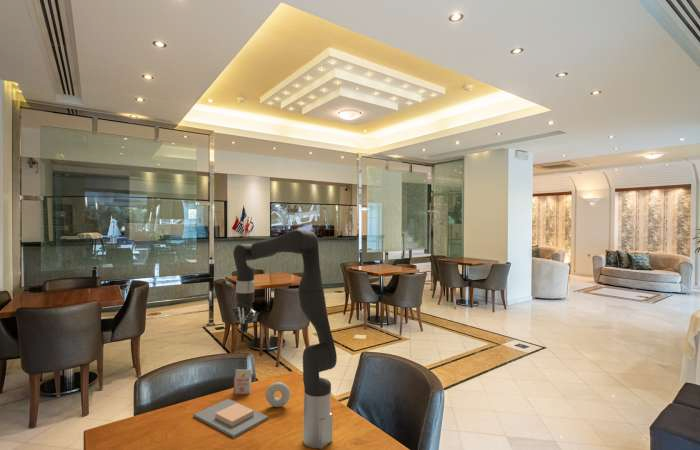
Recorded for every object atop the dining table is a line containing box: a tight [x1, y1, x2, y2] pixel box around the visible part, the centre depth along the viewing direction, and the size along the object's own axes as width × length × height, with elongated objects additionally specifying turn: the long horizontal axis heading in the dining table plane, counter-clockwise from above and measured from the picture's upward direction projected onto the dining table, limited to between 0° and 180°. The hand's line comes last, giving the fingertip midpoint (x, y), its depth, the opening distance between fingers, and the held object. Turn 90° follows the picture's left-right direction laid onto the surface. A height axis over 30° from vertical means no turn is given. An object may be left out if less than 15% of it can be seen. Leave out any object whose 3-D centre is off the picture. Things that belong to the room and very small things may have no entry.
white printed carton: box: [233, 369, 252, 395], centre depth 162 cm, size 4×7×10 cm, turn 92°
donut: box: [265, 381, 291, 408], centre depth 150 cm, size 10×4×10 cm, turn 91°
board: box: [193, 398, 269, 439], centre depth 140 cm, size 24×16×1 cm, turn 56°
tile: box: [215, 402, 255, 427], centre depth 139 cm, size 2×10×10 cm
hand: (244, 331), depth 155 cm, fingers closed
